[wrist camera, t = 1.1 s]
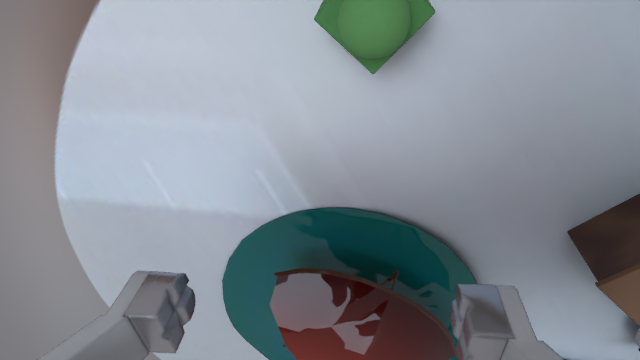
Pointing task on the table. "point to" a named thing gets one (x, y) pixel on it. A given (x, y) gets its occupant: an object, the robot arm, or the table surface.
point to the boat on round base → (344, 288)
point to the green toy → (373, 26)
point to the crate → (614, 253)
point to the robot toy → (638, 338)
